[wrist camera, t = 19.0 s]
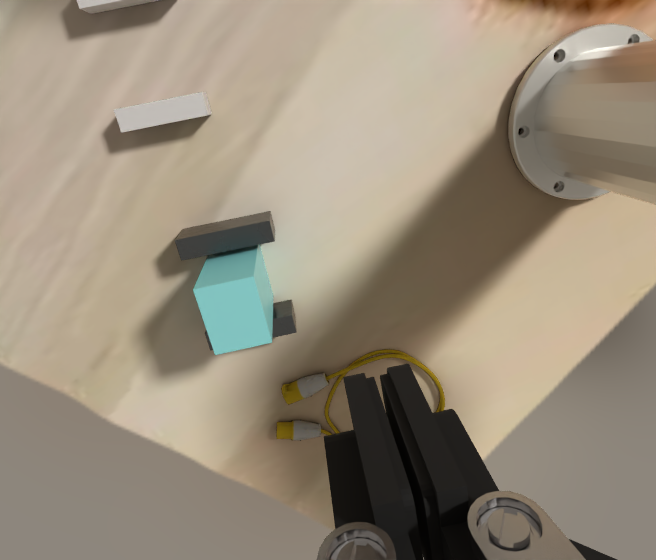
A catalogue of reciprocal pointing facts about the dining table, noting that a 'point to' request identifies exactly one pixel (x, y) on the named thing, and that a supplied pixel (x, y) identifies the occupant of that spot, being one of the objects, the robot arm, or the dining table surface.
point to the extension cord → (319, 381)
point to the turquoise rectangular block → (235, 299)
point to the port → (231, 238)
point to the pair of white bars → (157, 110)
